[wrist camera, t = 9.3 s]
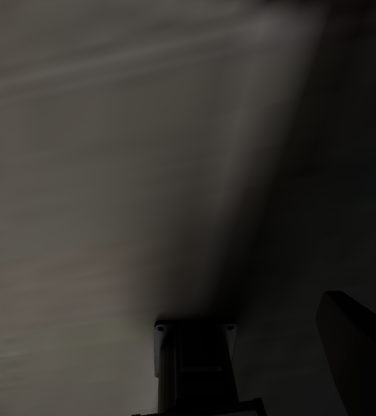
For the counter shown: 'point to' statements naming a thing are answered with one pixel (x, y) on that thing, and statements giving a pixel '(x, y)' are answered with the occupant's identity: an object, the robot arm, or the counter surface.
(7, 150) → the counter surface
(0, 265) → the counter surface
